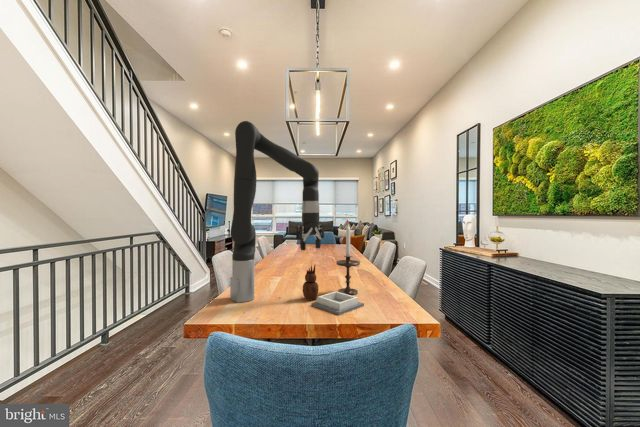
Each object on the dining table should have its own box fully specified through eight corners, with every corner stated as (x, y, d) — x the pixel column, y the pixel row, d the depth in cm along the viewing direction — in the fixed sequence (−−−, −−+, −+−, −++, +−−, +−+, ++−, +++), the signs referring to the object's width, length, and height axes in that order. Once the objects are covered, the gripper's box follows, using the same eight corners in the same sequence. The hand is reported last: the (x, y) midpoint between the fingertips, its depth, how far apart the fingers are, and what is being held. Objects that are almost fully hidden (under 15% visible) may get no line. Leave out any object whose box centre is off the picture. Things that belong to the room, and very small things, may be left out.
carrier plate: (339, 315, 106) (339, 305, 106) (311, 305, 117) (311, 296, 117) (364, 305, 117) (364, 297, 117) (336, 297, 127) (336, 289, 127)
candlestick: (333, 294, 132) (333, 217, 132) (340, 288, 142) (340, 217, 142) (356, 297, 128) (356, 218, 127) (362, 290, 138) (362, 217, 138)
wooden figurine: (320, 297, 127) (320, 263, 127) (315, 301, 121) (315, 266, 121) (305, 296, 129) (305, 262, 129) (300, 300, 124) (300, 265, 123)
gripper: (316, 211, 132) (316, 246, 133) (292, 211, 122) (292, 250, 123) (328, 211, 127) (328, 248, 127) (303, 211, 117) (304, 251, 117)
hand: (310, 249), depth 125 cm, fingers open, 8 cm apart
